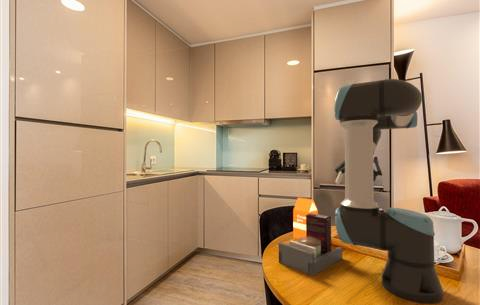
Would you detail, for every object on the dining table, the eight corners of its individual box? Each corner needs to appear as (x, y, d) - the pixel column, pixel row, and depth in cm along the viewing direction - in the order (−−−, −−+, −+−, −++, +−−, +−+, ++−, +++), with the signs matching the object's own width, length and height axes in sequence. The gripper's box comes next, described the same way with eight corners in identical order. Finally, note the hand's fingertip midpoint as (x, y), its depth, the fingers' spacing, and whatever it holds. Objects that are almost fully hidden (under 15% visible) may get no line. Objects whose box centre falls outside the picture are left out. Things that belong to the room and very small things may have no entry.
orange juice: (309, 244, 111) (308, 200, 112) (293, 239, 118) (292, 198, 118) (318, 240, 117) (317, 198, 117) (302, 236, 123) (302, 196, 124)
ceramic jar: (324, 260, 91) (324, 239, 92) (315, 268, 85) (315, 245, 85) (304, 254, 97) (304, 235, 97) (294, 261, 91) (294, 240, 91)
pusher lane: (342, 260, 93) (342, 240, 94) (312, 279, 80) (311, 254, 80) (310, 250, 104) (310, 231, 104) (278, 264, 90) (278, 243, 90)
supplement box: (332, 256, 95) (331, 216, 95) (326, 260, 91) (326, 218, 92) (311, 251, 101) (311, 212, 101) (305, 254, 97) (305, 214, 97)
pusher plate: (316, 268, 85) (315, 247, 85) (314, 269, 84) (314, 248, 84) (291, 258, 92) (291, 240, 92) (289, 259, 92) (289, 241, 92)
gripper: (396, 156, 109) (385, 193, 99) (342, 156, 128) (328, 187, 118) (392, 144, 106) (380, 181, 96) (337, 146, 125) (322, 177, 114)
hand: (351, 185), depth 107 cm, fingers open, 13 cm apart
